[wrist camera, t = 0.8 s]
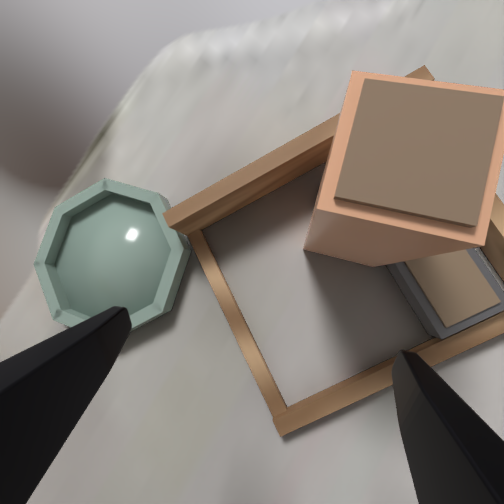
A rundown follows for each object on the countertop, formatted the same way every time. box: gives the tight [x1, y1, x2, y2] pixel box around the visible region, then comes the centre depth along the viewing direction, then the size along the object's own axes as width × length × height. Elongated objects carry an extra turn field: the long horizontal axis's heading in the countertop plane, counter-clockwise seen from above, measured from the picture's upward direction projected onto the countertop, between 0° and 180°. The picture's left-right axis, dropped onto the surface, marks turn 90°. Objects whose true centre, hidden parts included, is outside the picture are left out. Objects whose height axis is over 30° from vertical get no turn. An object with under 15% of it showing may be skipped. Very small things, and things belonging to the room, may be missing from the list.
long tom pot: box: [303, 71, 504, 267], centre depth 15 cm, size 6×6×12 cm
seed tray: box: [386, 248, 504, 339], centre depth 19 cm, size 7×5×2 cm
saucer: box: [34, 178, 191, 332], centre depth 23 cm, size 13×13×2 cm
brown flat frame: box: [162, 65, 504, 437], centre depth 19 cm, size 18×21×4 cm
